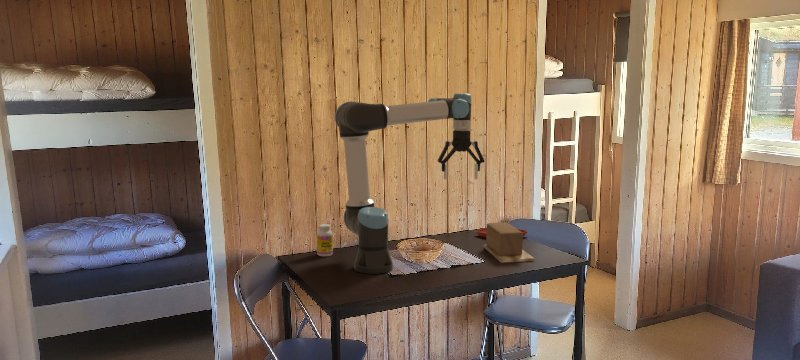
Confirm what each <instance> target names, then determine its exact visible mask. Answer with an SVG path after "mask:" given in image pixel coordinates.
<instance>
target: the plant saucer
mask: <svg viewBox="0 0 800 360" xmlns="http://www.w3.org/2000/svg"><path fill="white" fill-rule="evenodd" d="M515 228H516V229H518V230H519V231H521V232H522V233H523V237H524V236H525V235H526V234H528V232H529V231H528V230H527V229H526V230H525V229H520V228H517V227H515ZM475 232H476V234H478V236H479V237H482V238H485V239H486V236H487V227H483V228H480V229H476V230H475Z"/></svg>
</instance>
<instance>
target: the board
mask: <svg viewBox="0 0 800 360" xmlns="http://www.w3.org/2000/svg"><path fill="white" fill-rule="evenodd" d="M483 248H484V249H485V250H486V251H487V252H488V253H490V254H491V255H492V257H494V258H495V259H496V260H497V261H499V262H500V263H518V262H519V263H521V262H534V261H535V257H534V256H532V255H530V254H529V253H528V252H526V251H525V250H524V249H522V255H517V256H500V255H498V254H497V253H496V252H495V251H494V250H493V249H492V248H490V247H489V246H488V245H487V244H483Z"/></svg>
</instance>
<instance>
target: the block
mask: <svg viewBox="0 0 800 360" xmlns="http://www.w3.org/2000/svg"><path fill="white" fill-rule="evenodd" d="M486 228H487V236H486V238H485V239H486V240H485V241H486V243H485V244H486V245H488V246H489V247H490V248H492V249H493V250H494V251H495V252H496V253H497V254H498V255H500V256H517V255H522V250H523V245H524V244H523V243H524V242H523V241H524V240H523V239H524V238H523V237H524V236H523V233H522V232H521V231H519V230H518V229H519V228H517V227H515V226H514V225H512V224H510V223H509V222H505V221H504V222H488V223H487V224H486ZM516 228H517V229H516Z"/></svg>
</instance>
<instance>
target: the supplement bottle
mask: <svg viewBox="0 0 800 360" xmlns="http://www.w3.org/2000/svg"><path fill="white" fill-rule="evenodd" d="M318 229H319V230H318V231H317V232H316V254H317V255H318V256H319V257H331V256H332V255H333V253H334V249H333V248H334V245H333V241H334V240H333V239H334V237H333V235H334V234H333V231H332V230H331V224H328V223H322V224H319V225H318Z"/></svg>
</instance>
